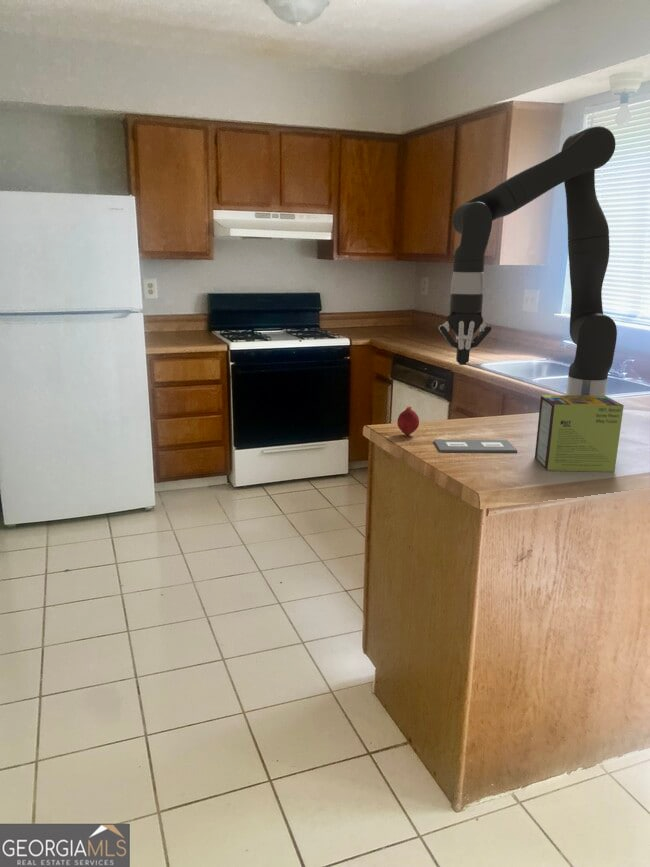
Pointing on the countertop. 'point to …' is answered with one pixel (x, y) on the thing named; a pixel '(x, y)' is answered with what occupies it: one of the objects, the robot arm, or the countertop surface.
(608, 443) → the protein box
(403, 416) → the onion
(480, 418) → the countertop surface
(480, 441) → the label panel
